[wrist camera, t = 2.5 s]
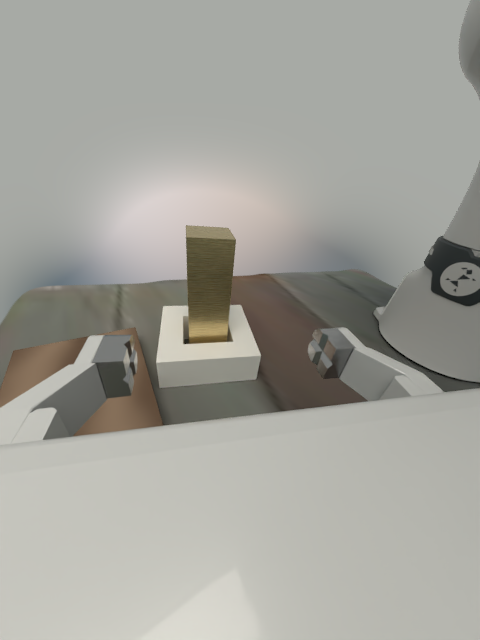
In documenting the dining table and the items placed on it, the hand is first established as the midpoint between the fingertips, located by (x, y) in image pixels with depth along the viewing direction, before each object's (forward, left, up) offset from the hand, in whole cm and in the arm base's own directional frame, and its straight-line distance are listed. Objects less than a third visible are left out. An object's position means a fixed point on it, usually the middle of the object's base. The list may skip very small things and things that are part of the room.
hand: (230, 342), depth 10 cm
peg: (-4, -13, -12) cm, 18 cm away
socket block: (-4, -13, -12) cm, 18 cm away
